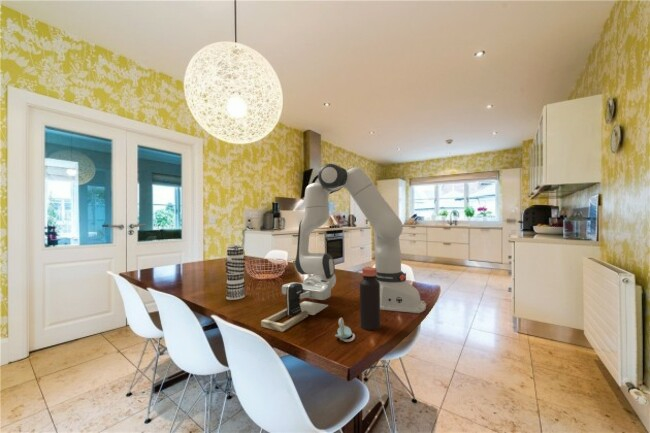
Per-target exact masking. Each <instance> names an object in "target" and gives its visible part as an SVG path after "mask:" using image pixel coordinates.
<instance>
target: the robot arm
mask: <svg viewBox="0 0 650 433" xmlns="http://www.w3.org/2000/svg"><path fill="white" fill-rule="evenodd" d="M317 177H318V181H316V182H312V183H309V184H308V185H307V186H306V187H305V190H304V214H303V218H302V219H301V220H300V221H299V224H298V235H297V247H296V249H297V250H296V256H295V260H294V266H295V269H296V270H297V272H298V274H300V275H312V276H309V277H307V278H305V279H304V281H303V282H299V283H300V284H302V286H303V293H300V294H298V299H300V300H303V299H313V300H319V301H324V300H327V299H329V298H331V291H332V289H333V287H335V285H336V283H337V282H336V281H337V276H336V274H335V260H334V258H333V257H332V255H330V254H329V253H328V252H323V253H322V252H318V253H317V252H316V253H314V252H311V253H310V251H309V247H310V246H309V245H310V244H309V243H310V235H311V234H312V232H313V231H314V230H316V229H319V227H322V226H323V225H325V223H327V221H328V220H329V218H330V205H329V196H330V195H331V194H333V193H336V192H338V191H340V190H341V189H343V188H345V190H347V191H348V193H349V194H350V196H351V197H352V199H353V201H354V202H355V204H356V206H358V208H359V209H360V211H361V212H362V213H363V215H364V217H366V219H367V221H368V222H369V224H370V225H371V227H372V228H373V236H374V238H373V239H374V240H373V241H374V242H373V243H374V261H375V262H374V266H375V267H374V268H376V269H377V275H376V276H377V277H376V280H377V281H378V282H379V284H380V310H381V311H393V312H403V313H414V314H420V313H423V312H424V311H426V309H427V303H426V302H425V301H424V300H421V296H420V295H421V294H420V291H419V290H418V289H417V287H415V286H414V285H412V284H411V283H410V282H409V281H407V272H403V271H402V252H401V245H400V236H401V235H402V233H403V230H404V229H403V226H404V225H403V222H402V221H401V219H400V217H399V216H398V214H396V212H395V211H394V209H393V208H392V207H391V206H390V204H389V203H388V202H387V201H386V199H385V198H384V197H383V195H382V194H381V192H380V191H379V189H378V188H377V186H376V184H374V182H373V181H372V179H371V178H370V176H369V175H367V173H366V172H365V171H364V170H363V169H362V168H360V167H356V166H355V167H352V168H350V169H348V170H347V169H345V168H343V167H341V166H339V165H337V164H335V163H327V164H324V165H323V166H321V168H320V169H319V170H318V174H317ZM293 283H297V282H296V281H295V282H289V283H285V284H283V285H282V286H281V293H282V295H286V289H287V286H288V285H290V284H293Z"/></svg>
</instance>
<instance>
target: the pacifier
mask: <svg viewBox="0 0 650 433" xmlns="http://www.w3.org/2000/svg"><path fill="white" fill-rule="evenodd" d="M344 321H345V320H344V319H343V317H339V318H338V326H339V327H338V328H337V334H335V335H334V337H335V338H336V337H337V338H339V340H340V341H342V342H345V343H350V342H353V341H354V340H355V338H356V335H355V333H353V332H352V330H351V328H350V327H349V326H347V325H345V322H344ZM351 336H352V337H351ZM348 338H349V339H348Z"/></svg>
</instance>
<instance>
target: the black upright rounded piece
mask: <svg viewBox="0 0 650 433" xmlns="http://www.w3.org/2000/svg"><path fill="white" fill-rule="evenodd" d="M300 283H301V282H296V283H293V284H290V285H288V286H287V289H286V294H285V296H286V298H285V300H286V308H287V315H286V316H292V317H294V316H296V315H298V314H299V313H300V312H301V311H302V310H301V307H300V303H301V302H300V301H301V299H298V294H300V293H303V286H302V284H300Z"/></svg>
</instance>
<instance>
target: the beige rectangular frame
mask: <svg viewBox="0 0 650 433" xmlns="http://www.w3.org/2000/svg"><path fill="white" fill-rule="evenodd" d="M286 316H288V315H287V307H286V308H284V309H281V310H280V311H278V312H276V313H274V314H272V315H270V316H268V317H265V318H264V319H261V321H260V327H261V328H265V329H269V330H274V331H277V332H281V333H283V332H285V331H286V330H289V329H290V328H291V327H293V326H295V325H296V324H298V323H300V322H301V321H303V320H304V319H306V318H308V317H309V314H308V311H303V312H301V313H299V314H297V315H294V316H292V317H291V318H289V319H287V320H285V321H284V322H277V321H279V320H281V319H283V318H285V317H286Z"/></svg>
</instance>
